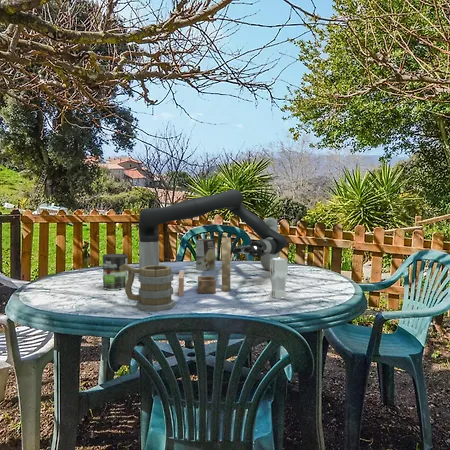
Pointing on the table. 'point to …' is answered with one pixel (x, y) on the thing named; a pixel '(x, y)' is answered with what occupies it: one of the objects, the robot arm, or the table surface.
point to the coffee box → (205, 254)
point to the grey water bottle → (273, 225)
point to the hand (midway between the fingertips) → (241, 252)
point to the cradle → (206, 284)
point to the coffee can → (114, 271)
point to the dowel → (226, 264)
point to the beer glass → (278, 276)
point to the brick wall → (181, 283)
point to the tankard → (151, 287)
